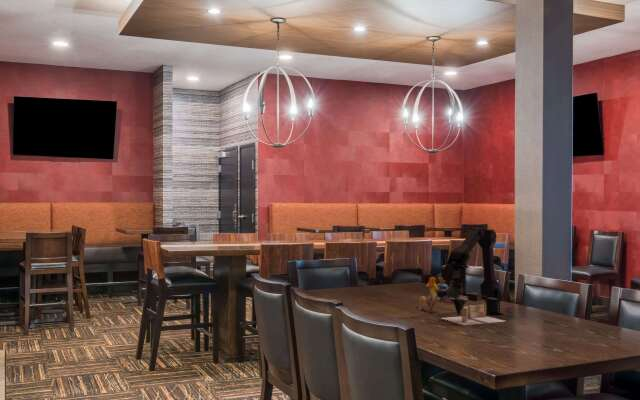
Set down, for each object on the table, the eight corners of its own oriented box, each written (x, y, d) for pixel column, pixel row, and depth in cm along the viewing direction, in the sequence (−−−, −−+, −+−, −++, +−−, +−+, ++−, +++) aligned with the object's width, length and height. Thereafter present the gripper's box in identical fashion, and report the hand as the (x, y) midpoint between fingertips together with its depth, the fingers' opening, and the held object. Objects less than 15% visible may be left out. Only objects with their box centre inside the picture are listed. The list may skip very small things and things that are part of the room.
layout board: (481, 315, 316) (481, 314, 316) (505, 321, 301) (505, 320, 301) (440, 318, 307) (440, 318, 307) (464, 325, 291) (464, 324, 291)
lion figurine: (441, 312, 323) (441, 293, 323) (433, 313, 320) (433, 294, 320) (419, 308, 335) (419, 290, 335) (411, 309, 332) (411, 290, 332)
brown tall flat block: (464, 317, 309) (464, 304, 309) (468, 317, 308) (469, 304, 308) (461, 322, 296) (461, 309, 296) (466, 322, 296) (466, 309, 296)
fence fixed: (483, 316, 313) (483, 302, 313) (486, 317, 311) (486, 303, 311) (467, 318, 309) (467, 303, 309) (470, 318, 307) (470, 304, 307)
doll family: (461, 303, 351) (461, 277, 351) (447, 305, 345) (447, 279, 345) (432, 298, 368) (432, 273, 368) (418, 300, 363) (418, 275, 363)
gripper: (431, 279, 298) (430, 315, 298) (471, 283, 287) (471, 320, 287) (442, 276, 307) (442, 311, 307) (482, 280, 296) (482, 316, 296)
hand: (458, 314), depth 299 cm, fingers closed
